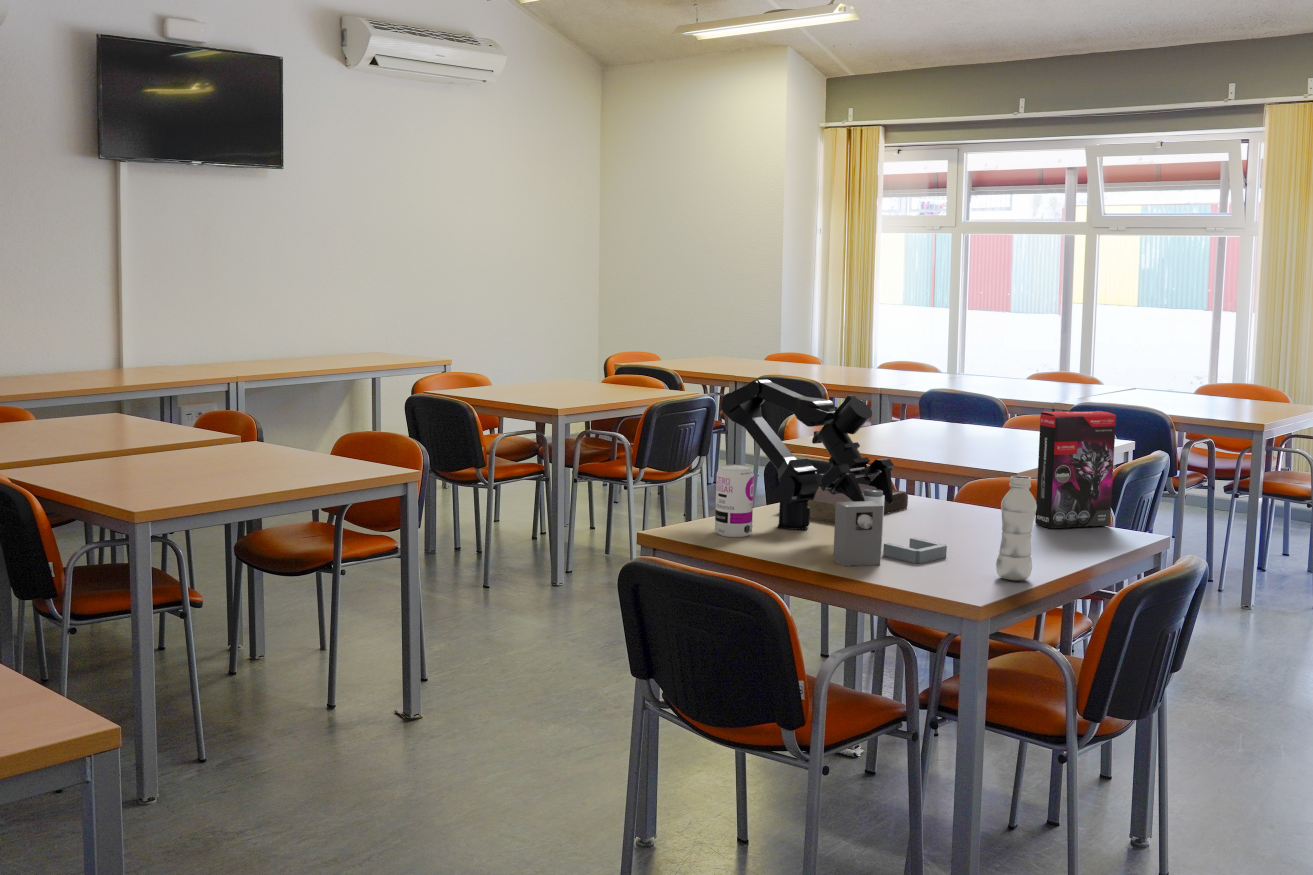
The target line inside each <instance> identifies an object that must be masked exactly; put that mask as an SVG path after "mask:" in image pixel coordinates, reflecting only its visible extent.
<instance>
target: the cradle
mask: <svg viewBox="0 0 1313 875" xmlns="http://www.w3.org/2000/svg"><path fill="white" fill-rule="evenodd" d="M882 549H883V550H882V552H883V553H882V555H883V556H885V557H889V558H891V559H897V560H900V561H904V562H908V563H913V564H924V563H928V562H933V561H937V560H942V559H945V558H947V550H948V546H947V545H946V543H941V542H936V541H932V540H927V539H923V538H918V537H910V538H909V546H904V545H901V544H900V545H899V544H895V543H891V542H885V543H883V548H882Z"/></svg>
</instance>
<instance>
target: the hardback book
mask: <svg viewBox="0 0 1313 875" xmlns="http://www.w3.org/2000/svg"><path fill="white" fill-rule="evenodd" d="M858 484H859V487H860V490H861V492H862V494H864V490H865V489H877V488H876V487H873V486H869V484H864V483H859V482H858ZM892 493H893V502H892V503H891V504H889V503H888V502H887V501H886V500H885V499H884V515H886V514H885V513H887V514H889V513H888V512H891V513H893V512H892V511H894V512H896V511H895V510H898V511H901V510H900V509H902V510H905V509H904V508H906V509H908V504H909V503H908V502H909V494H908V491H905V490H904V491H903V490H898V489H893V488H892ZM836 502H853V501H852V500H851V499H850V498H848V497H847V496H846V495H844V494H840V493H839V494H835V495H832V494H831V493H830V492H829V491H828V490H826V491H822V489H821V487H820V486H819V488H818V490H817V492H816V494H815V497H814V500H808V506H810V519H813V518H814V520H820V521H824V520H825V521H826V522H830V521H831V523H835V510H836Z"/></svg>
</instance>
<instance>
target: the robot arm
mask: <svg viewBox="0 0 1313 875" xmlns="http://www.w3.org/2000/svg"><path fill="white" fill-rule="evenodd" d="M722 397H723V398H722V401H721V407H720V408H721V410H722V413H723V414H724V415H725V416H726V417H727V418H728V419H729V420H730V421H731V422H733V423H735V424H737V425H739V426H741V427H742V428H744V429H745V430H746V431H747V433H748V434H749V436H750V437H751V438H752V440H754V442H755V444H757V445H758V447H759V448H760V450H761V451H762V453H764V454H765V456H766V457H767V459H769V461H770V462H771V463H772V465H773V466H774V467H775V468H776V471H777V479H778V480H777V481H778V482H779V484H778V485H777V486H776V487H775V488H774V489H773V490H772V495H773V500H774V501H775V502H779V507H778V508H779V509H778V510H779V511H778V524H777V528H779V529H790V530H792V529H793V530H805V531H806V530H807V529H808V527H809V526H810V524H811V518H810V506H808V500H814V497H815V494H816V492H817V490H818V488H819V486H820V487H821V489H822V491H826V490H828V491H829V492H830V493H831V494H832V495H835V494H839V493H840V494H844V495H846V496H847V497H848V498H850V499H851V500H852V501H853V502H858V501H865V500H864V497H863V495H862V492H861V490H860V487H859V484H860V483H859V482H858V479H857V478H862V477H863V479H864V480H865V481H866V482H868V485H869V486H873V487H876V488H877V489H878V490H882V491H883V495H884V496H885V498H884V499H885V500H886V501H887V502H888V503H889V504H891V503H892V502H893V493H892V489H893V486H892V472H893V469H894V468H895V464H894V463H893V461H892V460H891V459H890V458H877V459H875V460H874V461H873V462H872V463H871V464H870V465H868V463H869V462H871V460H870V458H869V457H868V456H867V457H863V455H862V454H861V453H860V452H861V451H859V448H860V446H861V444H860V443H859V442H853V440H852V439H851V437H850V435H855V434H857V432H858V431H860V430H861V429H862V427H863V426H864V425H865V424H867V422H868V421H869V420H870V419H872V418H871V417H873V412H872V409H871V407H870V406H869V405H868V404H866V402H864V401H863V400H861V399H859V398H857V397H856V395H855V394H849V395H847V396H846V397H845V398H844V400H843V402H842V403H841V404H840V405H839V406H837V405H836V406H835V403H834V401H832V400H829V399H825V398H819V397H811V396H805V395H803V394H800V393H797V392H795V391H793V390H791V389H788V388H787V387H783V386H782V385H779V384H777V383H774V382H772V381H771V380H769V379H766V378H763V379H762V378H761V379H753V380H752V381H750V382H749V383H747V384H745V385H744V386H742V387H739V388H737V389H735V390H733V391H732V392H727V393H725V394H724V395H723V396H722ZM765 401H767V402H769V403H771V404H773V405H775V406H777V407H780V408H782V409H784V410H786V411H788V412H791V413H792V414H794V416H795V418H796V419H797V420H798V421H799V422H800V423H802V424H803V425H805V426H806V427H808V428H809V427H810V428H812V427H821V429H819V430H815V431H813V437H812V438H811V439H812V440H811V443H812V444H813V445H815V444H822V445H823V447H824V448H825V449H826V452H827V453H828V454H829V456H830V458H828V463H829V466H830V467H829V469H828V470H826V471H825V472H824V473H818V468H816V467H814V466H813V464H812V463H811V461H810V460H809V459H808V458H807V457H805V458H804V457H802V458H797V457H795V456H794V454H793V453H792V452H791V451H790V450H789V448H788V447H787V445H785V443H784V442H783V440H782V439H781V438H780V437H779V436H778V434H776V432H775V431H774V430H773V429H772V427H771V426H770V425H769V423H768V422H767V421H766V420H765V418H764V417H763V415H762V407H761V405H763V404H764V403H765ZM849 434H850V435H849ZM858 483H859V484H858Z"/></svg>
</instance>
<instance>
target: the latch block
mask: <svg viewBox="0 0 1313 875" xmlns="http://www.w3.org/2000/svg"><path fill="white" fill-rule="evenodd" d="M860 512H862V513H864V514H866V515H869V516H870V517H871V518H872V519H873V524H872V526H871V527H870V528H869V529H863V528H861V527H859V526H857V525H856V513H860ZM882 521H883V522H884V516H883V506H882V505H880V504H878V503H875V502H873V501H858V502H836V510H835V522H834V535H833V553H832V560H833V561H834V562H835V561H836V562H835V563H837V562H838V563H837V564H839V565H840V564H841V565H840V566H842V565H843V566H842V567H852V566H851V565H861V566H876V565H879V566H880V565H881V558H882V557H881V553H882V547H881V540H882V541H883V535H882ZM871 564H872V565H871Z"/></svg>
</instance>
